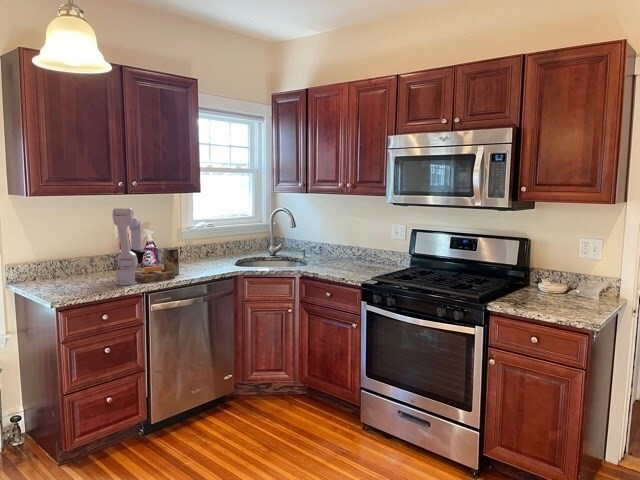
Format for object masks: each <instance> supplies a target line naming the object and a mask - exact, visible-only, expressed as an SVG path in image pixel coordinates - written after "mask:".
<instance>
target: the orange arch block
mask: <svg viewBox="0 0 640 480" xmlns="http://www.w3.org/2000/svg"><path fill="white" fill-rule="evenodd" d="M143 269H144V271H145V275H148V272H150V271H157V270H158V271H160V272H162V269H163V268H162V265H156V266H148V267H144V268H143Z"/></svg>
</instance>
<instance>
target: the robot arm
mask: <svg viewBox="0 0 640 480" xmlns="http://www.w3.org/2000/svg"><path fill="white" fill-rule="evenodd" d="M111 215H112V221H113V224H114V225H115V226H116V227H117V232H118V237H119V239H118V240H119V244H120V249H121V252H120V253H119V254H118V255H117V267H118V268H119V269H117V270H116V273H115V274H116V285H119V286H129V285H135V284H138V283H139V281H136V280H135V272H136V268H137V267H138V264H142V263H143V259H144V255H145V254H146V251H144V246H142V231H143V230H142V228H143V223H142V221H140V220H138V219H137V217H136V216H135V215H134V210H133V208H130V207H129V208H117V207H114V208H113V209H112V214H111ZM128 227H129V231H130V238H129V231H128ZM130 243H131V244H130Z"/></svg>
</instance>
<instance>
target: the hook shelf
mask: <svg viewBox="0 0 640 480" xmlns="http://www.w3.org/2000/svg"><path fill="white" fill-rule="evenodd" d="M175 276H176V275H175V272H173V271H169V270H166V269H164V268H162V272H160V271H158V270H157V271H150V272H148V275H145V270H144V271H143V270H142V271H135V282H138V283H143V284H146V283H153V282H159V280H160V281H167V280H174V279H175V278H176V277H175ZM166 279H167V280H166Z"/></svg>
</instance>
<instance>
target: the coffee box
mask: <svg viewBox="0 0 640 480" xmlns="http://www.w3.org/2000/svg"><path fill="white" fill-rule="evenodd" d="M162 253H163V269H166V270H169V271H173V272H175V276H176V275H180V265H179V264H180V263H179V248H163V252H162Z"/></svg>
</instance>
